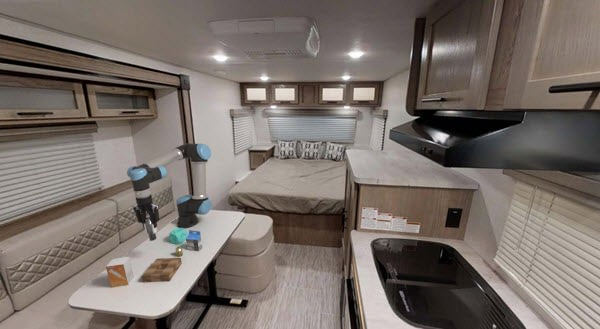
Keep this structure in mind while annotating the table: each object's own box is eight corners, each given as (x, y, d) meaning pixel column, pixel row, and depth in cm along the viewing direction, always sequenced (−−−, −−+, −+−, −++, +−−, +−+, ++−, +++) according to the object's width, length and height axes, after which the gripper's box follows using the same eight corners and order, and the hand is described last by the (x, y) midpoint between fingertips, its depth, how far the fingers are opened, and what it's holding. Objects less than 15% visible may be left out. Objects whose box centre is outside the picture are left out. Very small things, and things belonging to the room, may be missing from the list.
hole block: (157, 264, 132) (156, 258, 131) (181, 263, 132) (180, 257, 131) (142, 282, 118) (141, 276, 117) (169, 281, 119) (168, 275, 118)
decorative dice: (188, 238, 158) (186, 228, 156) (179, 245, 150) (177, 234, 148) (178, 236, 160) (177, 227, 158) (169, 243, 152) (167, 233, 150)
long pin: (151, 237, 134) (147, 216, 130) (157, 237, 134) (153, 216, 130) (148, 240, 131) (143, 219, 127) (154, 240, 131) (149, 219, 127)
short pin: (178, 253, 142) (177, 246, 140) (183, 253, 142) (182, 246, 140) (175, 257, 138) (174, 250, 137) (181, 256, 138) (180, 249, 137)
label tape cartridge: (187, 249, 145) (184, 233, 142) (190, 246, 149) (188, 230, 146) (199, 251, 143) (196, 234, 140) (202, 247, 147) (200, 231, 144)
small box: (111, 287, 115) (105, 266, 112) (117, 279, 121) (112, 258, 118) (128, 285, 117) (123, 264, 113) (134, 276, 123) (129, 256, 119)
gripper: (123, 199, 121) (133, 236, 127) (154, 198, 122) (162, 235, 128) (133, 193, 128) (141, 229, 134) (162, 192, 129) (169, 228, 135)
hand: (151, 232), depth 131 cm, fingers closed on long pin, 3 cm apart
